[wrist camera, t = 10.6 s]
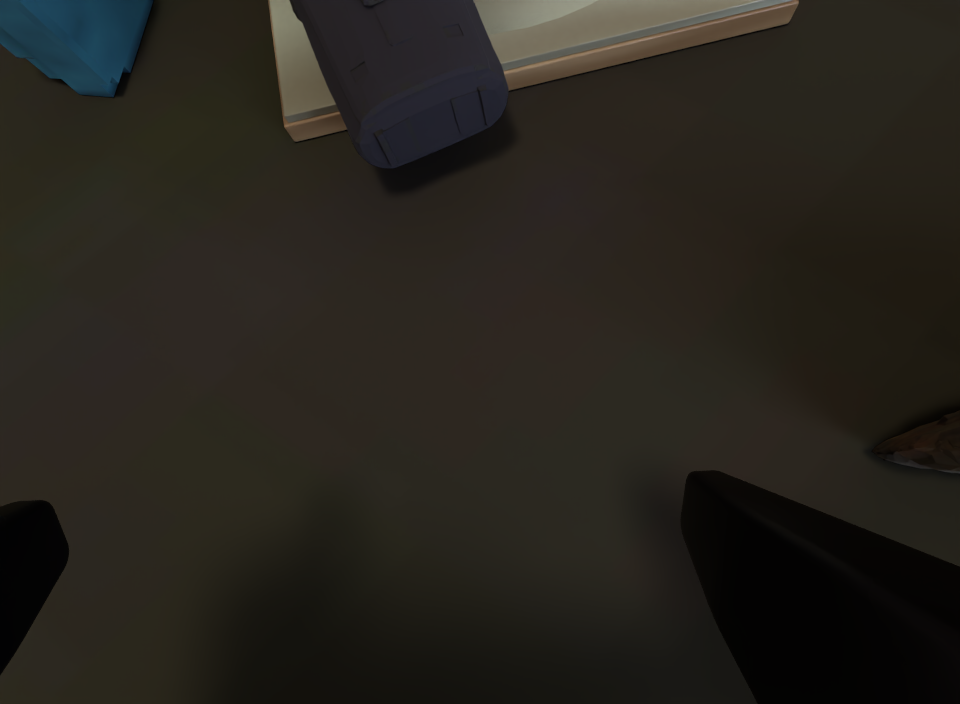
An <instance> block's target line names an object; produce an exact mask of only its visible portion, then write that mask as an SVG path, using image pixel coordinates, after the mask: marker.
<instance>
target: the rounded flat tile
mask: <svg viewBox="0 0 960 704" xmlns="http://www.w3.org/2000/svg"><path fill="white" fill-rule="evenodd" d="M473 1H474V3H475V5H476V7H477V10H478V12H479V15H480V18H481V20H482V23H483V25H484V27H485V30H486V32H487V34H488V37H489V39H490V41H491V44H492V46H493V48H494V50H495V52H496V54H497V57H498V59H499V61H500V63H501V65H502V68H503V71H504V75H505V78H506V81H507V85H508V88H509V91H510V90H514V89H518V88H522V87H526V86H530V85H535V84H539V83H543V82H547V81H551V80H555V79H559V78H564V77H568V76H572V75H576V74H580V73H584V72H589V71H593V70H597V69H601V68H605V67H609V66H613V65H618V64H622V63H626V62H630V61H634V60H638V59H643V58H647V57H651V56H655V55H659V54H663V53H667V52H672V51H676V50H680V49H684V48H688V47H692V46H697V45H701V44H705V43H709V42H713V41H717V40H721V39H726V38H730V37H734V36H738V35H742V34H746V33H750V32H755V31H759V30H763V29H767V28H771V27H775V26H780V25H784V24H787V23H789V22H790V20H791V18H792V16H793V14H794V11H795V9H796V7H797V5H798V3H799V1H798V0H473ZM268 4H269V11H270V19H271V27H272V35H273V43H274V51H275V59H276V67H277V75H278V83H279V90H280V98H281V106H282V114H283V122H284V127H285V129H286V130H287V132H288V133H289V134H290V136H291V137H292V139H293V140H294V141H295V142H298V141H302V140H306V139H310V138H314V137H319V136H323V135H327V134H331V133H335V132H339V131H344V130H347V128H346V125H345V123H344V121H343V119H342V117H341V115H340V112H339V110H338V108H337V106H336V103H335V101H334V99H333V97H332V95H331V93H330V91H329V89H328V87H327V84H326V82H325V79H324V77H323V75H322V72H321V70H320V67H319V65H318V62H317V60H316V57H315V54H314V52H313V49H312V47H311V44H310V41H309V39H308V36H307V34H306V31H305V29H304V26H303V23H302V22H301V21H299V20H298V19H297V17H296V15H295V14H294V12H293V10H292V6H291V3H290V1H289V0H268Z"/></svg>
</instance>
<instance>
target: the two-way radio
mask: <svg viewBox="0 0 960 704" xmlns="http://www.w3.org/2000/svg"><path fill="white" fill-rule="evenodd" d="M289 1H290V3H291V6H292V10H293V12H294V14H295V15H296V17H297V19H298V20H299V21H301V22H302V23H303V26H304V29H305V31H306V34H307V36H308V39H309V41H310V44H311V47H312V49H313V52H314V54H315V57H316V60H317V62H318V65H319V67H320V70H321V72H322V75H323V77H324V79H325V82H326V84H327V87H328V89H329V91H330V93H331V95H332V97H333V99H334V101H335V103H336V106H337V108H338V110H339V112H340V115H341V117H342V119H343V121H344V123H345V125H346V128H347V130H348V133H349V135H350V138H351V140H352V142H353V145H354V147H355V148H356V150H357V152H358V154H359V155H360V156H361V157H363V158H364V159H365V160H366V161H367V162H368V163H369V164H372V165H374V166H377V167H380V168H396V167H399V166H402V165H404V164H407V163H409V162H412V161H414V160H417V159H419V158H422V157H424V156H426V155H429V154H431V153H434V152H436V151H438V150H441V149H443V148H445V147H448V146H450V145H452V144H454V143H457V142H459V141H461V140H463V139H466V138H468V137H470V136H472V135H474V134H477V133H479V132H481V131H483V130H485V129H487V128H489V127H491V126H492V125H493V124H494V123H495V122H496V121H497V120H498V119H499V118H500V117H501V115H502V113H503V111H504V109H505V107H506V104H507V98H508V92H509V88H508V85H507V81H506V78H505V75H504V71H503V68H502V65H501V63H500V61H499V59H498V57H497V54H496V52H495V50H494V48H493V46H492V44H491V41H490V39H489V37H488V34H487V32H486V30H485V27H484V25H483V23H482V20H481V18H480V15H479V12H478V10H477V7H476V5H475V3H474V1H473V0H289Z"/></svg>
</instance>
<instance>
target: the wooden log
mask: <svg viewBox="0 0 960 704" xmlns="http://www.w3.org/2000/svg"><path fill="white" fill-rule="evenodd" d="M872 452H873V453H875V454H876V455H878V456H879V457H880V458H883V459H884V460H885V459H886V460H888V461H891V462H894V463H897V464H901V465H906V466H911V467H915V468H919V469H935V470H939V471H942V472H950V473H960V410H959V411H957V412H955V413H951V414H947V415H944V416H943V417H942V418H941V419H940V420H938V421H935V422H932V423H928V424H925V425H922V426H919V427H917V428H915V429H912V430H910V431H908V432H906V433H903V434H901V435H898V436H896V437H893V438H891V439H888V440H886V441H884V442H882V443H881V444H879V445H878V446H876V447H875V448H874V449H873V450H872Z"/></svg>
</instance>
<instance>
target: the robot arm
mask: <svg viewBox="0 0 960 704" xmlns="http://www.w3.org/2000/svg"><path fill="white" fill-rule="evenodd" d="M681 529H682V534H683V537H684V540H685V543H686V545H687V548H688V551H689V553H690V556H691V559H692V561H693V564H694V567H695V569H696V572H697V575H698V577H699V580H700V583H701V585H702V588H703V591H704V594H705V596H706V599H707V602H708V604H709V607H710V609H711V612H712V614H713V617H714V619H715V621H716V623H717V625H718V627H719V630H720V632H721V634H722V636H723V638H724V640H725V641H726V643H727V645H728V647H729V649H730V651H731V653H732V655H733V657H734V659H735V661H736V663H737V665H738V666H739V668H740V670H741V672H742V674H743V676H744V678H745V680H746V682H747V684H748V686H749V688H750V690H751V692H752V693H753V695H754V697H755V699H756V701H757V703H758V704H960V567H959V566H957V565H954V564H952V563H949V562H946V561H944V560H941V559H939V558H936V557H934V556H931V555H929V554H926V553H924V552H921V551H919V550H916V549H914V548H911V547H909V546H906V545H904V544H901V543H899V542H896V541H894V540H891V539H889V538H886V537H883V536H881V535H878V534H876V533H873V532H871V531H868V530H866V529H863V528H861V527H858V526H856V525H853V524H851V523H848V522H846V521H843V520H841V519H838V518H836V517H833V516H831V515H828V514H826V513H823V512H821V511H818V510H815V509H813V508H810V507H808V506H805V505H803V504H800V503H798V502H795V501H793V500H790V499H788V498H785V497H783V496H780V495H778V494H775V493H773V492H770V491H768V490H765V489H763V488H760V487H758V486H755V485H753V484H750V483H747V482H745V481H742V480H740V479H737V478H735V477H732V476H730V475H727V474H725V473H722V472H720V471H715V470H710V471H693V472H691V473H690V474H689V475H688V477H687V479H686V484H685V491H684V498H683V505H682V512H681ZM68 556H69V546H68V543H67V540H66V537H65V535H64V533H63V530H62V528H61V525H60V523H59V520H58V518H57V515H56V513H55V510H54V508H53V506H52V505H51V504H50V503H49V502H47V501H44V500H35V501H18V502H13V503H10V504H7V505H4V506H1V507H0V675H1V673H2V672H3V670H4V669H5V667H6V666H7V664H8V663H9V662H10V660H11V659H12V657H13V656H14V654H15V652H16V651H17V649H18V647H19V646H20V644H21V643H22V641H23V639H24V637H25V636H26V634H27V632H28V631H29V629H30V627H31V625H32V624H33V622H34V620H35V618H36V617H37V615H38V613H39V611H40V610H41V608H42V606H43V605H44V603H45V601H46V599H47V598H48V596H49V594H50V592H51V591H52V589H53V587H54V585H55V584H56V582H57V580H58V579H59V577H60V575H61V573H62V572H63V570H64V568H65V566H66V564H67V561H68Z"/></svg>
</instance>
